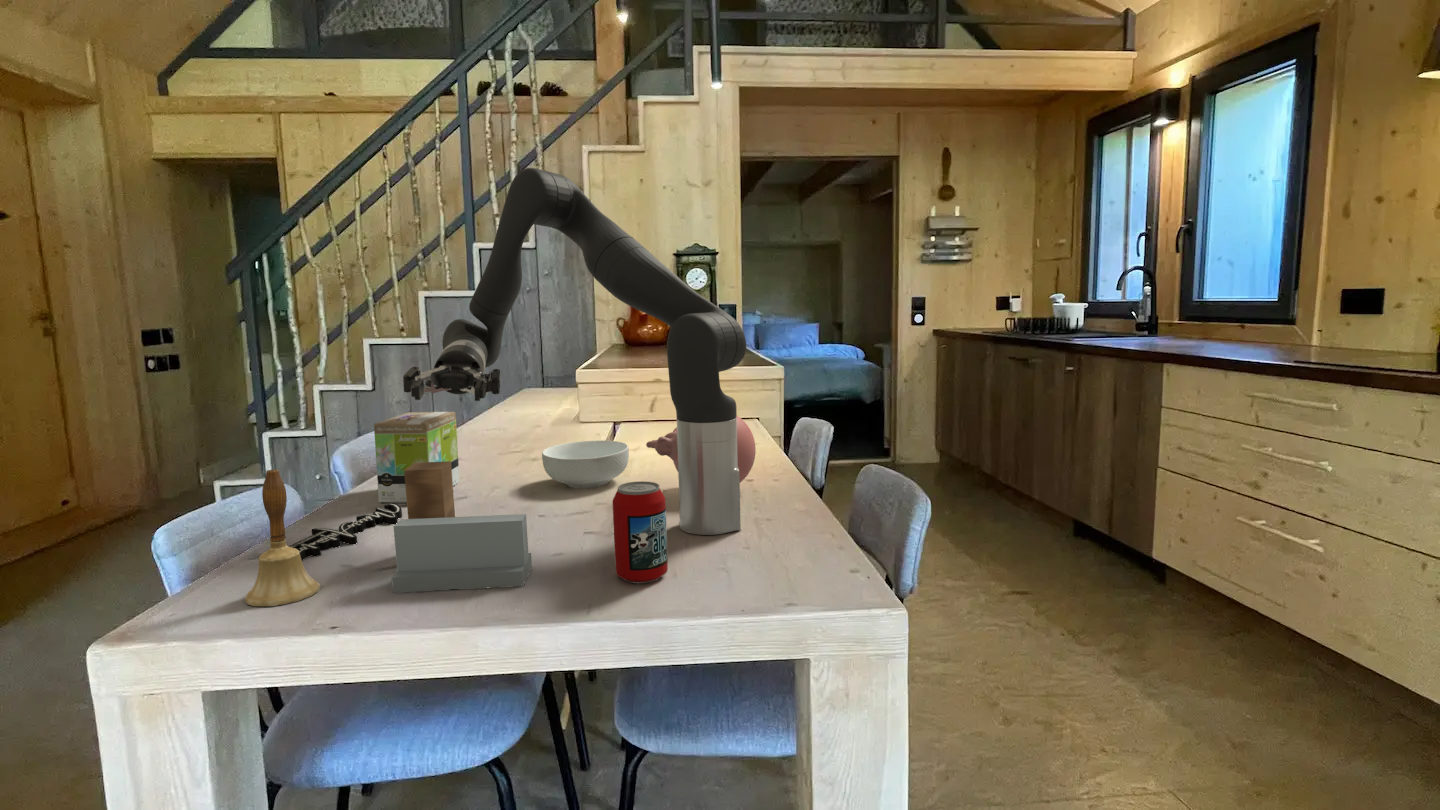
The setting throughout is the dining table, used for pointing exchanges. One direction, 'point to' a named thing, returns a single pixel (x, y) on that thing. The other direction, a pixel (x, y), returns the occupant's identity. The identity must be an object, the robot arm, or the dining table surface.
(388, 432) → the tea box
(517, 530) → the ridge
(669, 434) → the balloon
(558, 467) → the cereal bowl
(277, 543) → the hand bell
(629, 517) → the beverage can
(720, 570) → the dining table surface
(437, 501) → the walnut post
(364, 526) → the nameplate
